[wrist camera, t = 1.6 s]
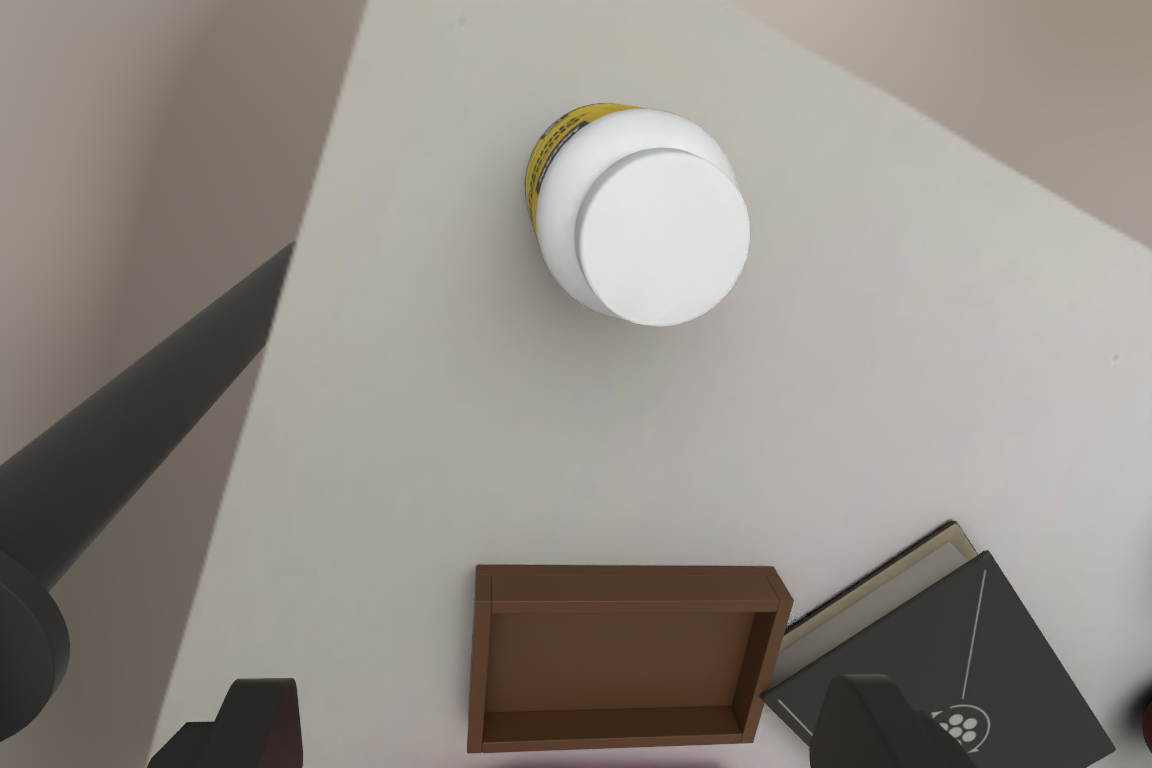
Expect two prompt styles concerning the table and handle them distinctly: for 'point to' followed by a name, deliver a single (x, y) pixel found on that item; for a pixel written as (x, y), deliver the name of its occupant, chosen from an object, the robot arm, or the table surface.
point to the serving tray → (621, 655)
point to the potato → (1148, 726)
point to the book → (944, 658)
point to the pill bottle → (637, 213)
